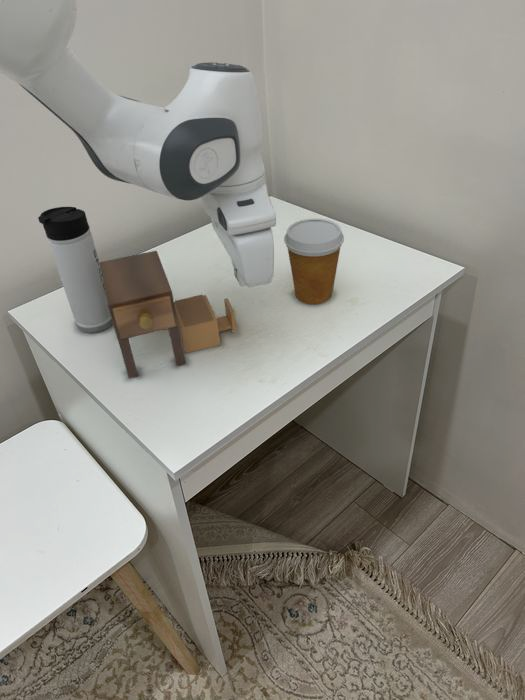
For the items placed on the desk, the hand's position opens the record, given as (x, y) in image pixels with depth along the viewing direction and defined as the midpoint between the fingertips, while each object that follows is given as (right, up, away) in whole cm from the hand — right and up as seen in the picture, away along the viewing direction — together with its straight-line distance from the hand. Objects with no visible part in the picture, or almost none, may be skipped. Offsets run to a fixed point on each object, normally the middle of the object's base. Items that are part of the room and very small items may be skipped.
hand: (242, 280), depth 83 cm
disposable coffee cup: (+12, -1, +11) cm, 16 cm away
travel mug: (-25, -6, +8) cm, 27 cm away
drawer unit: (-14, -10, +2) cm, 18 cm away
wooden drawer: (-6, -8, +4) cm, 11 cm away
